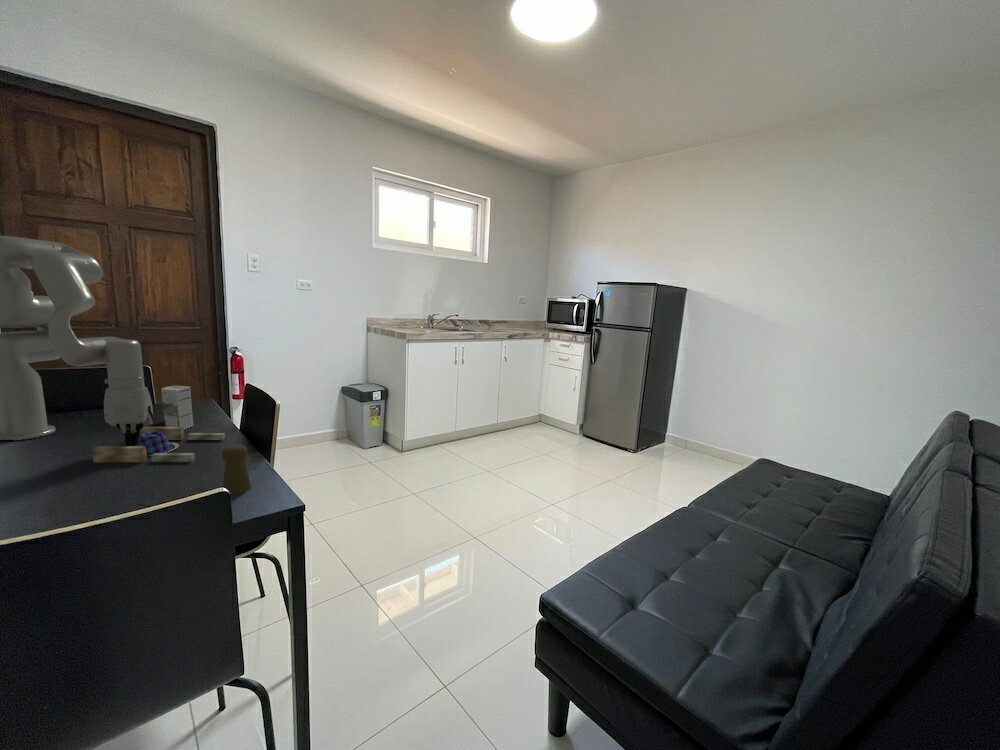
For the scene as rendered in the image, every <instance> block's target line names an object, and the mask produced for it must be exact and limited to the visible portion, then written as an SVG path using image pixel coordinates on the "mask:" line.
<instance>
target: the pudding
mask: <svg viewBox="0 0 1000 750" xmlns="http://www.w3.org/2000/svg"><path fill="white" fill-rule="evenodd" d="M170 444H173V445H175V448H174V449H172V448H170ZM136 446H146V453H147V455H148V456H147V457H151V455H152V454H154V453H162V452H163V453H164V452H165V453H171V452H172V451H174V450H176V449H178V448H179V447H180V444H179V443H178V442H173V441H168V439H167V437H166V435H165V433H164V432H159V431H157V432H149V433H144V434H142V435H140V436H139V438H138V442H137V445H136ZM169 449H170V451H169ZM171 449H172V450H171ZM167 450H168V452H167Z"/></svg>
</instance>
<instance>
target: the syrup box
mask: <svg viewBox="0 0 1000 750" xmlns="http://www.w3.org/2000/svg"><path fill="white" fill-rule="evenodd" d="M160 390H161V391H160V392H161V402H162V409H163V410H162V412H163V421H164V423H163V424H164V427H183V431H185V429H186V430H188V429H187V428H189V429H191V428H190V427H192V426H193V427H194V420H193V418H194V416H193V408H192V407H193V406H192V396H191V395H192V394H191V386H186V385H185V386H184V385H169V386H165V387H163V388H162V387H161V389H160ZM193 427H192V428H193Z"/></svg>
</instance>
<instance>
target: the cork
mask: <svg viewBox="0 0 1000 750" xmlns="http://www.w3.org/2000/svg"><path fill="white" fill-rule="evenodd" d="M247 457H248V449H247V447H246V446H244V445H241V444H233V445H228V446H226V447H225V448H224V449H223V450H222V452H221V458H222V460H223V461H224V470H223V480H222V481H223V482H222V488H223V487H224V488H226V489H228V490H229V491H230V493H232V494H236V495H241V494H243V492H244V493H247V492H248V491H250V490H251V489H250V488H252V483H251V481H250V480H251V479H250V476H249V471H248V466H247V461H246V458H247ZM249 489H250V490H249ZM247 490H248V491H247ZM246 491H247V492H246ZM232 494H231V495H230V496H233V495H232Z"/></svg>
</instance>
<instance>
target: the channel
mask: <svg viewBox="0 0 1000 750" xmlns="http://www.w3.org/2000/svg"><path fill="white" fill-rule="evenodd" d="M157 431H159V432H164V433H165V435H166V437H167V439H168V440H182V439H183V440H185V432H184V431H185V430H183V427H165V426H145V427H143V428H142V429H141V430H140V435H142V434H144V433H149V432H157ZM224 439H225V440H226V433H225V432H223V433H222V432H218V433H217V432H215V433H214V432H210V433H209V432H190V433H188V434H187V440H223V441H225V440H224ZM183 440H182V441H183ZM91 453H92V460H93V463H145V462H147V461H148V456H147V453H146V446H137V445H135V446H125V445H122V446H121V445H120V446H117V445H116V446H114V445H113V446H112V445H111V446H108V445H107V446H106V445H105V446H104V445H100V446H99V445H98V446H97V445H96V446H93V447H92V448H91ZM150 458H151V463H193V462H194V461H196V458H195V452H167V453H164V452H163V453H154V454H152V455H151V456H150Z"/></svg>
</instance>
